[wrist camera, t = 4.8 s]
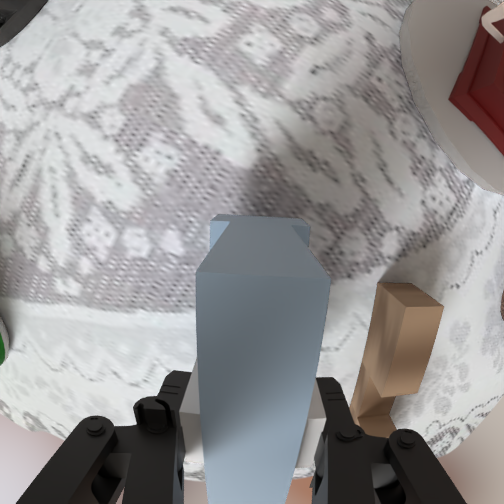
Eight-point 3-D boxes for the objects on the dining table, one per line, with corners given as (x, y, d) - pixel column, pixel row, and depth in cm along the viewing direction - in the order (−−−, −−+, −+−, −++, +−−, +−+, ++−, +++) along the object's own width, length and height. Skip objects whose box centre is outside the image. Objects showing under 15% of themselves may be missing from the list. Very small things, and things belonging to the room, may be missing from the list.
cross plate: (218, 214, 18) (152, 268, 7) (301, 218, 18) (372, 280, 7) (216, 380, 21) (188, 520, 9) (284, 383, 21) (299, 525, 9)
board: (377, 282, 21) (405, 306, 16) (411, 283, 21) (443, 306, 16) (335, 450, 25) (344, 486, 20) (363, 447, 25) (374, 482, 20)
